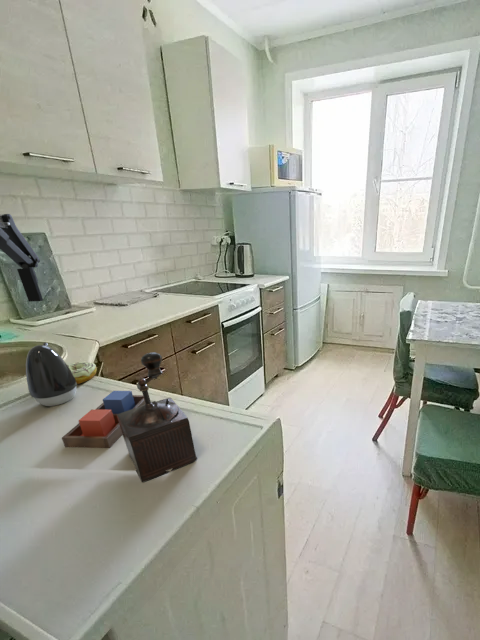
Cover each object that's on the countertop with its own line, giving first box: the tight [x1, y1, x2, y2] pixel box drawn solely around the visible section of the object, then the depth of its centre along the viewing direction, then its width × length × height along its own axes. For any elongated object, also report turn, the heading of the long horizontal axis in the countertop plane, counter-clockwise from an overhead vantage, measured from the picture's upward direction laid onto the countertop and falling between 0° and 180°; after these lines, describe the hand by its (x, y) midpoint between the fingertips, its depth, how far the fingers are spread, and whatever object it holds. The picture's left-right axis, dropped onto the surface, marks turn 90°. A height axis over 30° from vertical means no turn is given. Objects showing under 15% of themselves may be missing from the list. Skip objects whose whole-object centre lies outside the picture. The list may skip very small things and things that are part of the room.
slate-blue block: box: [102, 390, 135, 414], centre depth 81 cm, size 4×4×4 cm
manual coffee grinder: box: [117, 351, 198, 483], centre depth 65 cm, size 16×11×18 cm
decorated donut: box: [67, 361, 98, 385], centre depth 103 cm, size 10×11×4 cm
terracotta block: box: [78, 409, 116, 436], centre depth 73 cm, size 4×4×4 cm
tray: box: [61, 394, 145, 449], centre depth 78 cm, size 10×18×3 cm, turn 175°
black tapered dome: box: [25, 342, 78, 407], centre depth 88 cm, size 10×10×15 cm
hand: (10, 309), depth 68 cm, fingers open, 13 cm apart
